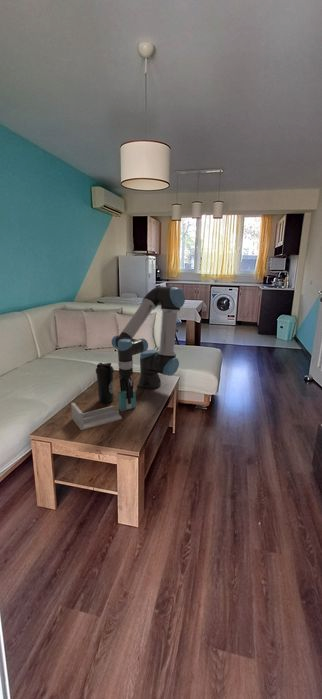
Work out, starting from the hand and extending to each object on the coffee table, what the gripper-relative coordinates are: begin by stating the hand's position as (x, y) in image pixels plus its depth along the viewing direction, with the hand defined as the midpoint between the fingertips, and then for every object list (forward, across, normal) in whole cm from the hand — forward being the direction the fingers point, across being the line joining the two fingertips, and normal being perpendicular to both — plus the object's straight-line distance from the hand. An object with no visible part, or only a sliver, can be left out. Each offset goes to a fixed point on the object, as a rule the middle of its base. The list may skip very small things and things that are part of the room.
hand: (127, 407), depth 184 cm
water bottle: (+1, -16, -6) cm, 17 cm away
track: (+1, +3, -19) cm, 19 cm away
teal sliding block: (+1, 0, 0) cm, 1 cm away
